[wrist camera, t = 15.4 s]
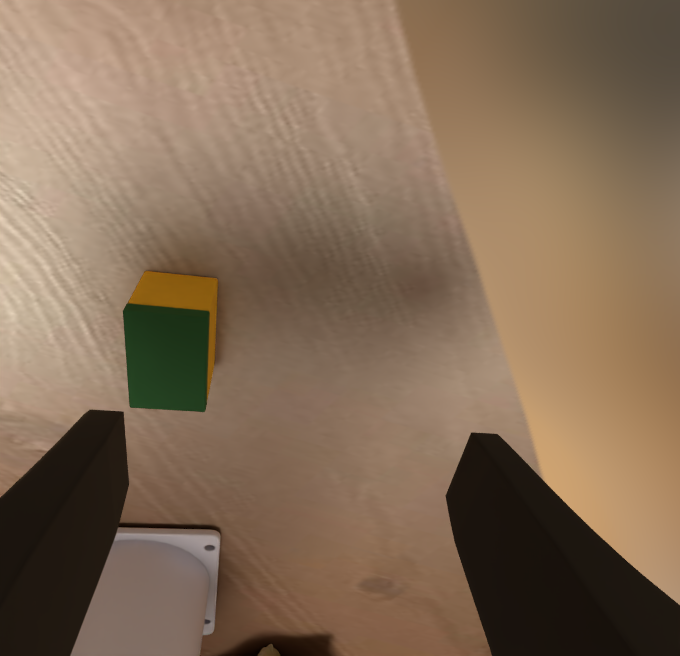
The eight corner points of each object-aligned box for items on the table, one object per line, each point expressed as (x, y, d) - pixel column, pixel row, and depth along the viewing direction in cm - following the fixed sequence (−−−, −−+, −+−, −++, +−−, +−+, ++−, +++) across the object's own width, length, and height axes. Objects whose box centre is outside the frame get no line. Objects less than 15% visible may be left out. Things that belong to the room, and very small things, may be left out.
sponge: (214, 364, 21) (205, 412, 18) (148, 359, 20) (129, 407, 18) (218, 277, 18) (208, 317, 16) (144, 269, 18) (122, 310, 16)
